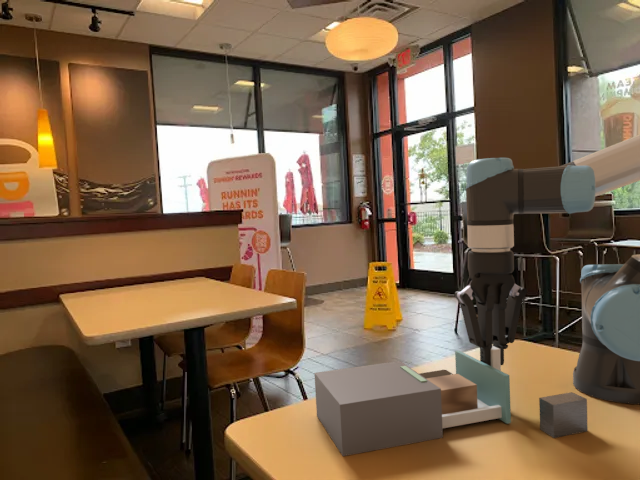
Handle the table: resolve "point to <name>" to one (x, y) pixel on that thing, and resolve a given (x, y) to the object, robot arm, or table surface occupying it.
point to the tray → (482, 393)
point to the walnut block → (456, 393)
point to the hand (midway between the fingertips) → (492, 383)
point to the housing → (377, 407)
